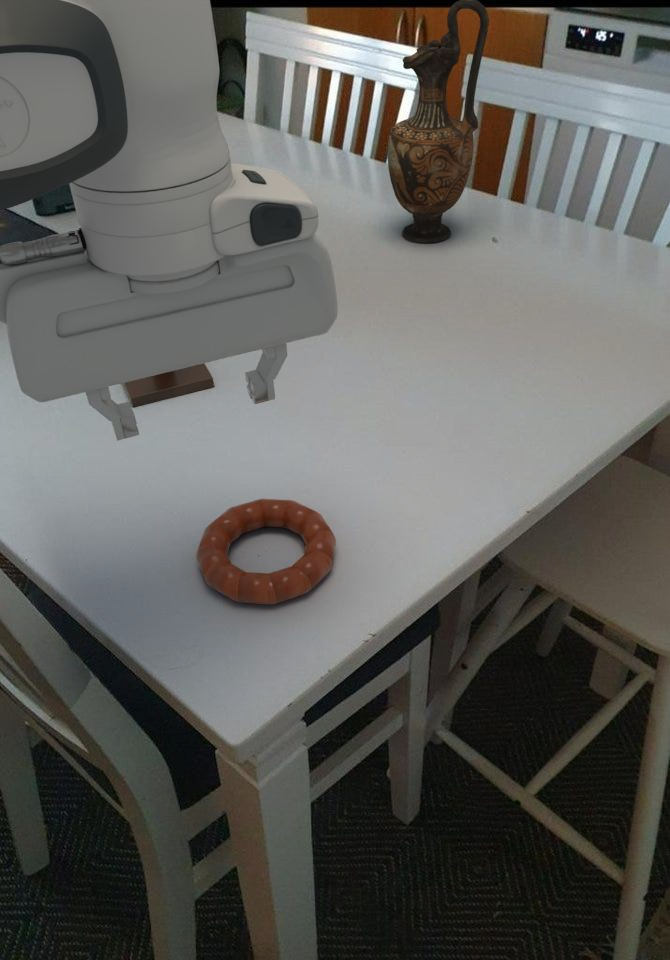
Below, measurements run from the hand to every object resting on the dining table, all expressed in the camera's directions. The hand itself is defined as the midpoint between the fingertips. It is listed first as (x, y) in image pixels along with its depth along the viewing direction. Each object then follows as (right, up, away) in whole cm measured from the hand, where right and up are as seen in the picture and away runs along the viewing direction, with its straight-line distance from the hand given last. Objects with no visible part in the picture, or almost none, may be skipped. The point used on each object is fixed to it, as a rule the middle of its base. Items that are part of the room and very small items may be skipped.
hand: (195, 415), depth 55 cm
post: (-10, +7, +35) cm, 37 cm away
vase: (+23, +31, +63) cm, 74 cm away
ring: (+4, -10, +12) cm, 16 cm away
